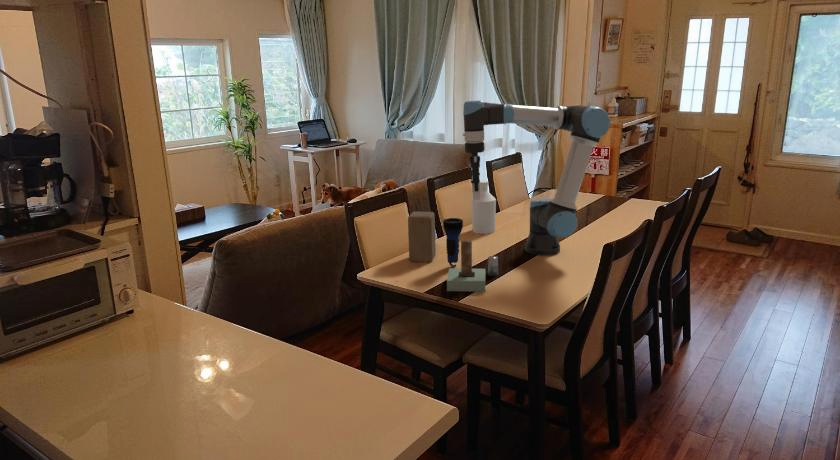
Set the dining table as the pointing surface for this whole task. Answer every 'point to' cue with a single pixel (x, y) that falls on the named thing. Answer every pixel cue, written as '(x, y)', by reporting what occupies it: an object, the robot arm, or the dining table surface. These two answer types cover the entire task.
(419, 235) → the wooden block
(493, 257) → the short pin
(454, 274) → the collar block
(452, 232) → the flashlight
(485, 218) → the bottle
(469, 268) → the long pin
